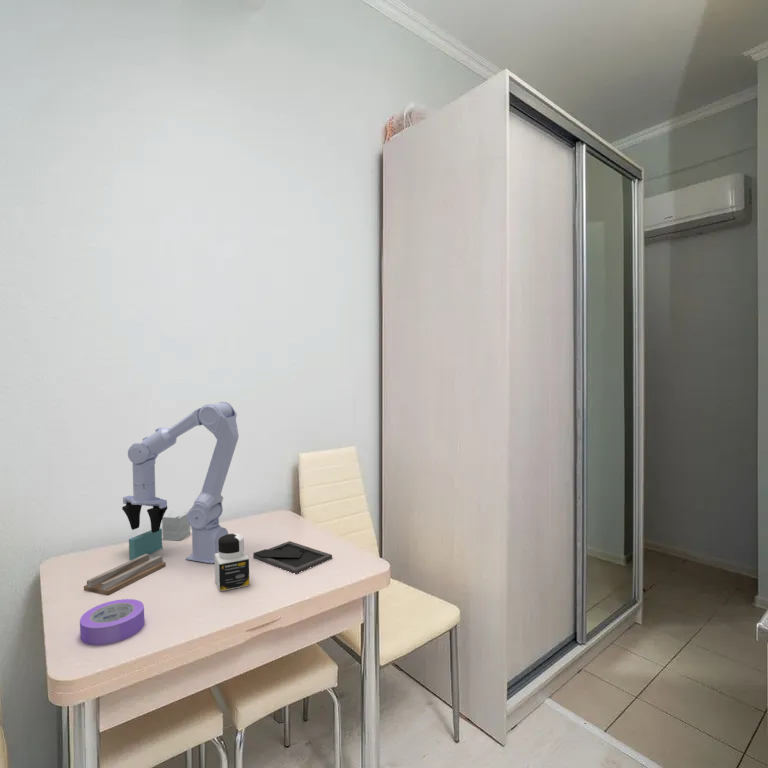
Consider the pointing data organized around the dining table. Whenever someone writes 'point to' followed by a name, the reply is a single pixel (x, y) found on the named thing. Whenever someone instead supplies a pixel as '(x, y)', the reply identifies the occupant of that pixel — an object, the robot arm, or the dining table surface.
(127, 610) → the masking tape
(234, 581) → the medicine bottle
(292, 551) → the picture frame
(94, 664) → the dining table surface
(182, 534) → the skincare box
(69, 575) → the dining table surface
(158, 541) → the door panel
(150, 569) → the door track
